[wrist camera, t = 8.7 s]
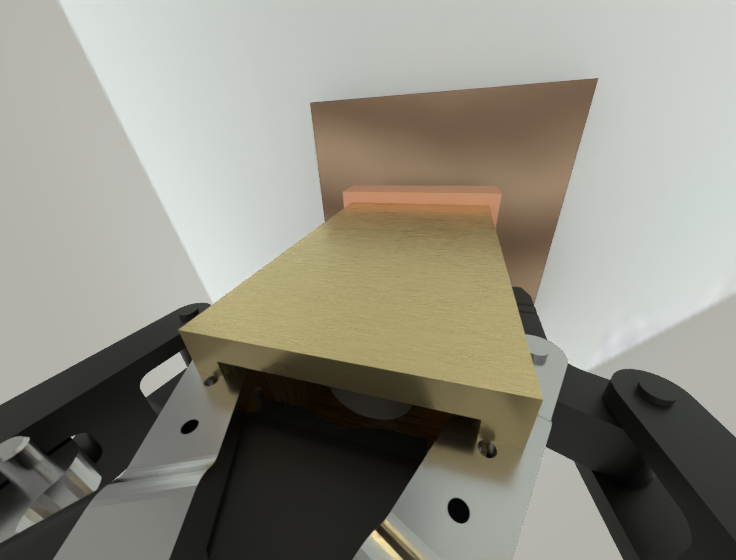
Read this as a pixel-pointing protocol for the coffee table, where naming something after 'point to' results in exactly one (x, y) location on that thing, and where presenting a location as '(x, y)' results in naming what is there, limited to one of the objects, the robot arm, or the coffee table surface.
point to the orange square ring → (426, 195)
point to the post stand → (460, 164)
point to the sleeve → (384, 323)
